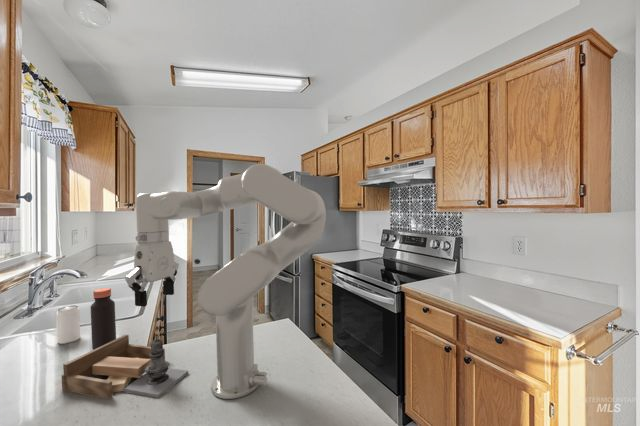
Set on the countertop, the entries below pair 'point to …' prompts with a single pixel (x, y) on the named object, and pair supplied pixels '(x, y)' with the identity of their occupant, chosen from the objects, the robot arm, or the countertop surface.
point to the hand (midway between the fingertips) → (155, 299)
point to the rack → (81, 368)
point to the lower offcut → (119, 382)
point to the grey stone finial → (157, 364)
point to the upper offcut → (121, 366)
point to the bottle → (102, 318)
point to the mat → (154, 390)
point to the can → (68, 324)
